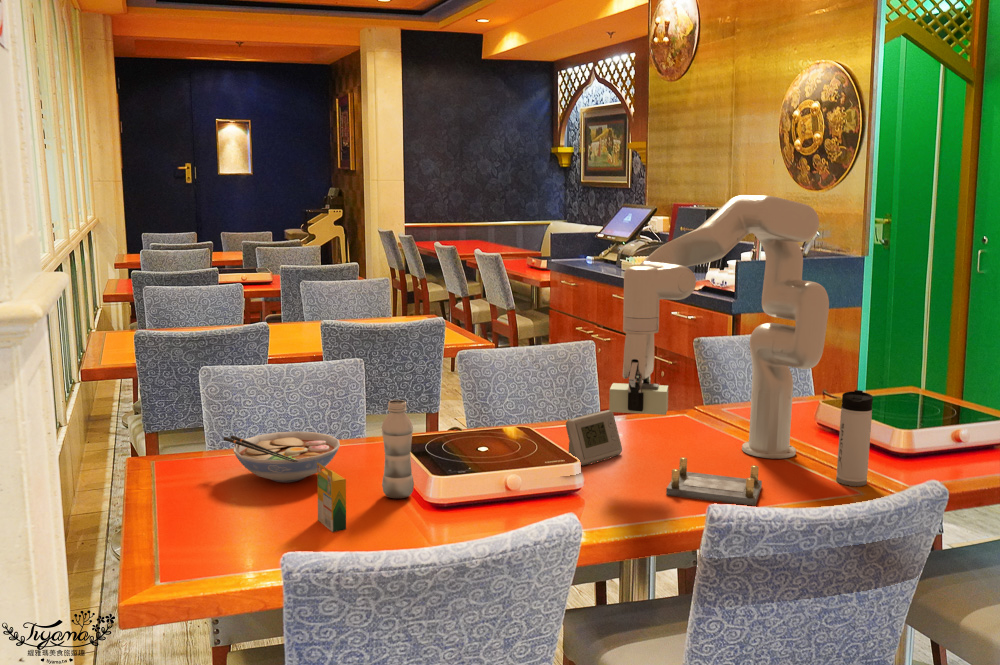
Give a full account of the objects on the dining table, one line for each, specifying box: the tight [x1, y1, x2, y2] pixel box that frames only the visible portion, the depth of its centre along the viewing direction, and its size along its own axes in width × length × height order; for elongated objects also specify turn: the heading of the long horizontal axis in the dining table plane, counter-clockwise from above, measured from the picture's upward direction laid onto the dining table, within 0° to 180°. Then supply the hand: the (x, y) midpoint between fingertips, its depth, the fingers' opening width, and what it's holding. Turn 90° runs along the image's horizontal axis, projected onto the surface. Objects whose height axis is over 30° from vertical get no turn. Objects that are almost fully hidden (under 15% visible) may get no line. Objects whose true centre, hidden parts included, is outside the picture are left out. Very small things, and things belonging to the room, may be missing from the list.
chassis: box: [665, 457, 763, 507], centre depth 193 cm, size 13×18×5 cm
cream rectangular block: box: [608, 382, 669, 416], centre depth 196 cm, size 6×12×6 cm, turn 76°
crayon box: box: [316, 462, 347, 533], centre depth 171 cm, size 7×3×12 cm, turn 33°
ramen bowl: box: [223, 431, 341, 483], centre depth 199 cm, size 25×23×8 cm
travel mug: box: [836, 389, 874, 487], centre depth 198 cm, size 6×7×20 cm
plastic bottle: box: [381, 399, 415, 499], centre depth 186 cm, size 6×7×20 cm
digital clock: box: [565, 409, 623, 467], centre depth 215 cm, size 16×9×11 cm, turn 122°
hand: (639, 406), depth 197 cm, fingers closed on cream rectangular block, 6 cm apart
